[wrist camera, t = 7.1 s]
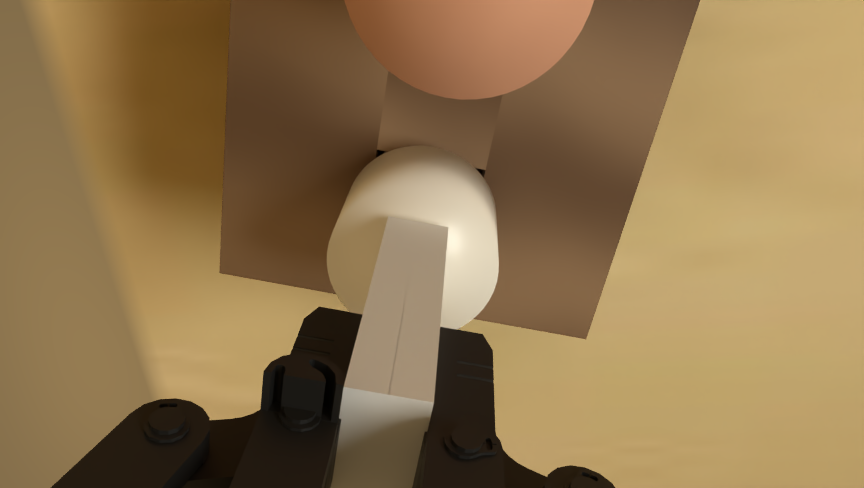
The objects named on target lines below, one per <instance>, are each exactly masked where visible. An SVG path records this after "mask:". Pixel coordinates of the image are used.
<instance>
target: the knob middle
mask: <svg viewBox="0 0 864 488" xmlns="http://www.w3.org/2000/svg"><path fill="white" fill-rule="evenodd" d="M344 1H345V4H346V7H347V10H348V13H349V16H350V19H351V21H352V23H353V25H354V27H355V29H356V31H357V33H358V35H359V36H360V38H361V39H362V41H363V43H364V44H365V46H366V47H367V48H368V50H369V51H370V52H371V53H372V55H373V56H374V57H375V58H376V59H377V60H378V61H379V62H380V63H381V64H382V65H383V66H384V67H385V68H386V69H387V70H388V71H389V72H391V73H392V74H394V75H395V76H396V77H398V78H399V79H400V80H402V81H404V82H405V83H407V84H409V85H411V86H413V87H414V88H417V89H419V90H422V91H424V92H427V93H429V94H433V95H437V96H441V97H444V98H452V99H460V100H467V99H483V98H491V97H495V96H499V95H502V94H506V93H509V92H511V91H514V90H516V89H519V88H521V87H523V86H525V85H527V84H529V83H530V82H532V81H534V80H536V79H537V78H538V77H540V76H541V75H543V74H544V73H545V72H547V71H548V70H549V69H550V68H551V67H552V66H554V65H555V64H556V63H557V62H558V61H559V60H560V59H561V58H562V57H563V56H564V54H565V53H566V52H567V51H568V49H569V48H570V47H571V46H572V45H573V43H574V42H575V40H576V38H577V37H578V35H579V34H580V32H581V31H582V29H583V27H584V24H585V22H586V20H587V18H588V16H589V14H590V11H591V8H592V5H593V2H594V0H344Z"/></svg>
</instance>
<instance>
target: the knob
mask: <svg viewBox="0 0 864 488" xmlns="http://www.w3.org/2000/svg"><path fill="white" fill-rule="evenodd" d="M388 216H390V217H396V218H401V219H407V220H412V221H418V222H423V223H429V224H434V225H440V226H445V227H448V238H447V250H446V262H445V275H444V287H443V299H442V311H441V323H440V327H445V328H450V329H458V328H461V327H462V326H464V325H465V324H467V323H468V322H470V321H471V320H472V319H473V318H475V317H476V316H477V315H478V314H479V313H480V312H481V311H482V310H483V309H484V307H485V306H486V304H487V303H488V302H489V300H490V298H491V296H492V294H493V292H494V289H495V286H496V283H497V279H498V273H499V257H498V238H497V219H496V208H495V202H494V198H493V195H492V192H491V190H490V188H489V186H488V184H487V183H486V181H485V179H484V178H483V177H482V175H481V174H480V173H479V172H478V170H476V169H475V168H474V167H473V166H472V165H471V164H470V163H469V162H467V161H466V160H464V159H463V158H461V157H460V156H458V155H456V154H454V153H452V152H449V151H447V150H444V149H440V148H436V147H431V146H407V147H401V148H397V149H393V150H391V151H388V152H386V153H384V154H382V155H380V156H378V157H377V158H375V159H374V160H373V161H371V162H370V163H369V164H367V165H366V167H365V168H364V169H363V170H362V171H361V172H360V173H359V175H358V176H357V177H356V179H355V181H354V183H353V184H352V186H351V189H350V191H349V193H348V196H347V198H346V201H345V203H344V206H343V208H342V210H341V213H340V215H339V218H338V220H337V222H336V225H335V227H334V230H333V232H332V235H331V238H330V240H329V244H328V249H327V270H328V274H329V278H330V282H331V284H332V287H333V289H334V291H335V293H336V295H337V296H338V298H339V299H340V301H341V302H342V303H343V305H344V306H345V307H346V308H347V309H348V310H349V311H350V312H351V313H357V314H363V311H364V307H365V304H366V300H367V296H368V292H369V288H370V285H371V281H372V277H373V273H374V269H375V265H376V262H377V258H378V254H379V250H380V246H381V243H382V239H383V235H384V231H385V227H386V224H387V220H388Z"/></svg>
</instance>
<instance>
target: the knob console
mask: <svg viewBox="0 0 864 488" xmlns="http://www.w3.org/2000/svg"><path fill="white" fill-rule="evenodd" d="M699 2H700V0H594V2H593V5H592V8H591V11H590V14H589V16H588V18H587V20H586V22H585V24H584V27H583V29H582V31H581V32H580V34H579V35H578V37H577V38H576V40H575V42H574V43H573V45H572V46H571V47H570V48H569V49H568V51H567V52H566V53H565V54H564V56H563V57H562V58H561V59H560V60H559V61H558V62H557V63H556V64H555V65H554V66H552V67H551V68H550V69H549V70H548V71H547V72H545V73H544V74H543V75H541V76H540V77H538V78H537V79H536V80H534V81H532V82H530V83H529V84H527V85H525V86H523V87H521V88H519V89H516V90H514V91H511V92H509V93H506V94H502V95H499V96H495V97H491V98H483V99H467V100H460V99H452V98H444V97H441V96H437V95H433V94H429V93H427V92H424V91H422V90H419V89H417V88H414V87H413V86H411V85H409V84H407V83H405V82H404V81H402V80H400V79H399V78H398V77H396V76H395V75H394V74H392V73H391V72H389V71H388V70H387V69H386V68H385V67H384V66H383V65H382V64H381V63H380V62H379V61H378V60H377V59H376V58H375V57H374V56H373V55H372V53H371V52H370V51H369V50H368V48H367V47H366V46H365V44H364V43H363V41H362V39H361V38H360V36H359V35H358V33H357V31H356V29H355V27H354V25H353V23H352V21H351V19H350V16H349V13H348V10H347V7H346V4H345V1H344V0H231V3H230V28H229V53H228V77H227V102H226V127H225V151H224V176H223V201H222V226H221V250H220V273H222V274H228V275H233V276H239V277H245V278H250V279H256V280H261V281H267V282H272V283H278V284H283V285H289V286H294V287H300V288H306V289H311V290H317V291H322V292H328V293H333V294H336V293H335V291H334V289H333V287H332V284H331V282H330V278H329V274H328V270H327V249H328V244H329V240H330V238H331V235H332V232H333V230H334V227H335V225H336V222H337V220H338V218H339V215H340V213H341V210H342V208H343V206H344V203H345V201H346V198H347V196H348V193H349V191H350V189H351V186H352V184H353V183H354V181H355V179H356V177H357V176H358V175H359V173H360V172H361V171H362V170H363V169H364V168H365V167H366V165H367V164H369V163H370V162H371V161H373V160H374V159H375V158H377V157H378V156H380V155H382V154H384V153H386V152H388V151H391V150H393V149H397V148H401V147H407V146H431V147H436V148H440V149H444V150H447V151H449V152H452V153H454V154H456V155H458V156H460V157H461V158H463V159H464V160H466V161H467V162H469V163H470V164H471V165H472V166H473V167H474V168H475V169H476V170H478V172H479V173H480V174H481V175H482V177H483V178H484V179H485V181H486V183H487V184H488V186H489V188H490V190H491V192H492V195H493V198H494V202H495V208H496V219H497V238H498V257H499V273H498V279H497V283H496V286H495V289H494V292H493V294H492V296H491V298H490V300H489V302H488V303H487V304H486V306H485V307H484V309H483V310H482V311H481V312H480V313H479V314H478V315H477V316H476V317H475V318H473V319H477V320H483V321H488V322H494V323H500V324H505V325H511V326H516V327H522V328H527V329H533V330H538V331H544V332H549V333H555V334H561V335H566V336H572V337H577V338H583V339H586V338H587V335H588V332H589V329H590V326H591V323H592V320H593V317H594V314H595V311H596V308H597V305H598V302H599V299H600V296H601V293H602V290H603V287H604V284H605V281H606V278H607V275H608V272H609V269H610V266H611V263H612V260H613V257H614V254H615V251H616V248H617V245H618V243H619V240H620V237H621V234H622V231H623V228H624V225H625V222H626V219H627V216H628V213H629V210H630V207H631V204H632V201H633V198H634V195H635V192H636V189H637V186H638V183H639V180H640V177H641V174H642V171H643V168H644V165H645V162H646V159H647V156H648V153H649V150H650V147H651V144H652V142H653V139H654V136H655V133H656V130H657V127H658V124H659V121H660V118H661V115H662V112H663V109H664V106H665V103H666V100H667V97H668V94H669V91H670V88H671V85H672V82H673V79H674V76H675V73H676V70H677V67H678V64H679V61H680V58H681V55H682V52H683V49H684V46H685V44H686V41H687V38H688V35H689V32H690V29H691V26H692V23H693V20H694V17H695V14H696V11H697V8H698V5H699Z"/></svg>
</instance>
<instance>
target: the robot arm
mask: <svg viewBox="0 0 864 488" xmlns="http://www.w3.org/2000/svg"><path fill="white" fill-rule="evenodd" d="M447 238H448V227H445V226H440V225H434V224H429V223H423V222H418V221H412V220H407V219H401V218H396V217H390V216H388V220H387V224H386V227H385V231H384V235H383V239H382V243H381V246H380V250H379V254H378V258H377V262H376V265H375V269H374V273H373V277H372V281H371V285H370V288H369V292H368V296H367V300H366V304H365V307H364V311H363V314H357V313H351V312H346V311H340V310H335V309H329V308H323V307H318V308H317V309H316V310H315V311H313V312H312V313H311V314H309V315H308V316H307V317H306V318H304V321H303V323H302V326H301V328H300V331H299V333H298V337H297V338H296V341H295V343H294V346H293V350H292V351H291V354H290V355H286V356H282V357H280V358H278V359H276V360H274V361H272V362H271V363H270V364H269V365H268V367H267V368H266V369H265V370H264V374H263V386H262V399H261V410H259V411H257V412H255V413H254V414H251V415H248V416H245V417H241V418H234V419H224V420H209V417H208V415H207V414H206V412H205V411H204V409H203V408H201V407H200V406H198V405H196V404H194V403H193V402H191V401H186V400H181V399H160V400H156V401H153V402H150V403H147V404H144V405H142V406H141V407H139V408H138V409H136V410H135V411H133V412H132V413H131V414H129V415H128V416H127V417H126V418H125V419H124V420H123V421H122V422H121V423H120V424H119V425H118V426H116V427H115V428H114V429H113V430H112V431H111V432H110V433H109V434H108V435H107V436H106V437H105V438H104V439H103V440H101V441H100V442H99V443H98V444H97V445H96V446H95V447H94V448H93V449H92V450H91V451H90V452H89V453H88V454H86V455H85V456H84V457H83V458H82V459H81V460H80V461H79V462H78V463H77V464H76V465H75V466H74V467H73V468H72V469H70V470H69V471H68V472H67V473H66V474H65V475H64V476H63V477H62V478H61V479H60V480H59V481H58V482H56V483H55V484H54V485H53V486H52V487H51V488H615V487H614V485H613V484H612V483H611V482H610V481H608V480H607V479H606V478H604V477H603V476H602V475H600V474H599V473H596V472H594V471H592V470H589V469H587V468H584V467H577V466H565V467H559V468H557V469H555V470H554V471H552V472H551V473H550V474H548V477H546V476H543V475H541V474H539V473H536V472H534V471H532V470H530V469H527V468H526V467H524V466H522V465H520V464H518V463H517V462H515V461H514V460H513V459H512V458H510V457H509V456H508V455H507V454H506V453H505V451H504V450H503V449H502V445H501V442H500V440H499V439H498V437H497V436H496V432H495V409H494V383H493V380H494V378H493V350H492V349H491V347H490V345H489V344H488V342H487V341H486V339H485V337H484V336H483V334H478V333H473V332H467V331H461V330H456V329H450V328H445V327H440V323H441V311H442V299H443V287H444V275H445V262H446V250H447Z"/></svg>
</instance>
